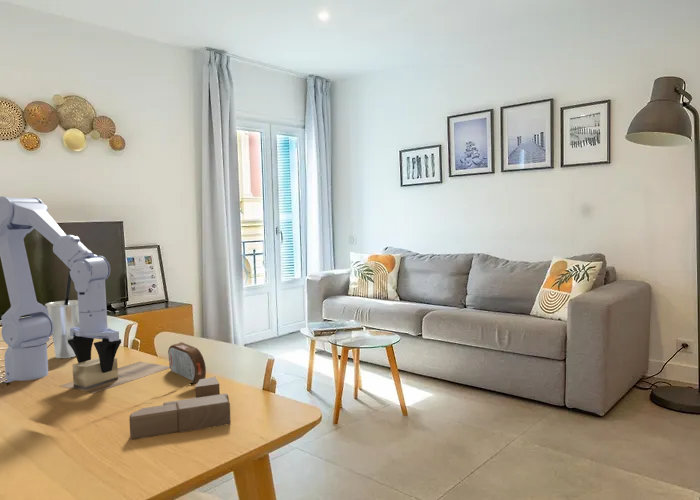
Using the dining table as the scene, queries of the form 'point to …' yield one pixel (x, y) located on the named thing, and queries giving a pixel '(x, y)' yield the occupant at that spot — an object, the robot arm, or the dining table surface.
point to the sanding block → (92, 374)
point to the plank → (124, 376)
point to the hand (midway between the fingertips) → (95, 369)
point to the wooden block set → (184, 413)
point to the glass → (64, 322)
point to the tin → (187, 362)
